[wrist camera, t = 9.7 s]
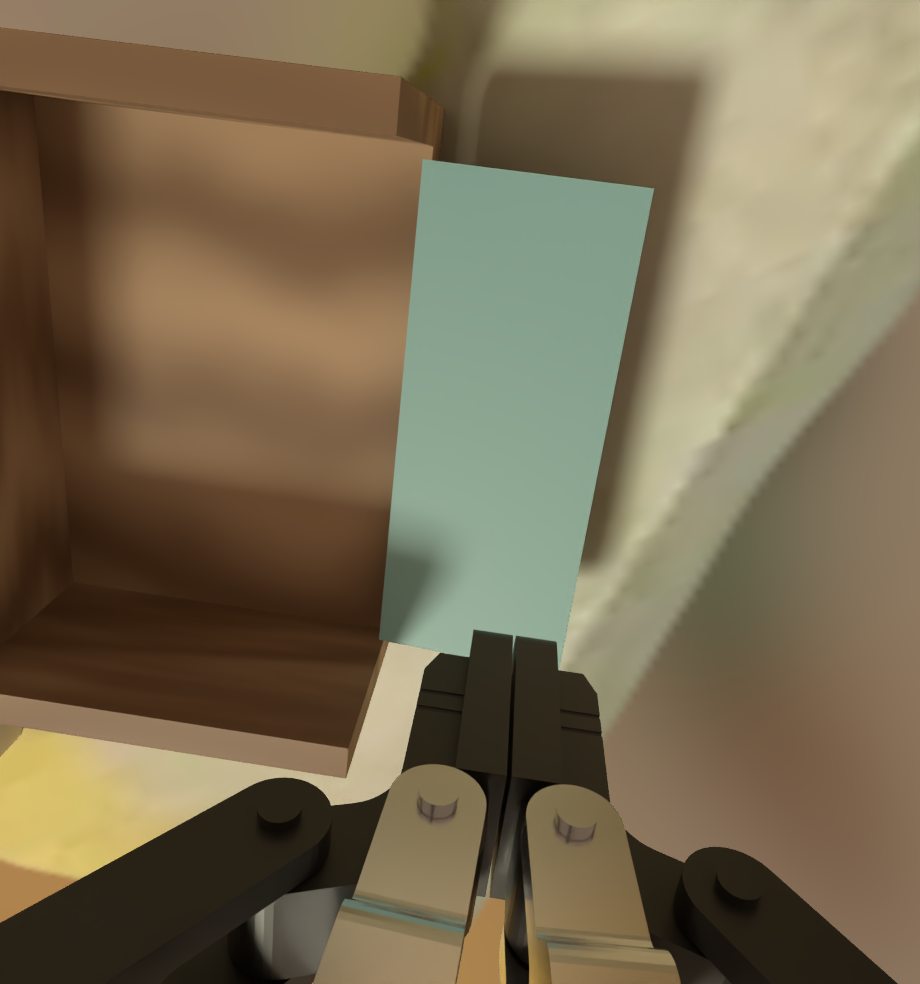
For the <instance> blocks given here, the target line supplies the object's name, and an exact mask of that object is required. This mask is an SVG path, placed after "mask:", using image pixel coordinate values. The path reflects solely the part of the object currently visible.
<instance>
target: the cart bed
mask: <svg viewBox="0 0 920 984" xmlns="http://www.w3.org/2000/svg"><path fill="white" fill-rule="evenodd" d="M443 119H444V108H442V107H441V106H440V105H438V104H437V103H436V102H434V101H433V100H432V99H430V98H429V97H428V96H426V95H425V94H424V93H422V92H421V91H420V90H418V89H417V88H416V87H414V86H413V85H412V84H410V83H409V82H408V81H406V80H405V79H404V78H402V77H400V76H392V75H384V74H376V73H367V72H360V71H351V70H343V69H335V68H327V67H319V66H311V65H303V64H294V63H286V62H278V61H270V60H261V59H253V58H245V57H237V56H229V55H221V54H213V53H205V52H197V51H188V50H180V49H172V48H164V47H156V46H148V45H139V44H132V43H123V42H115V41H107V40H99V39H90V38H83V37H74V36H65V35H58V34H50V33H42V32H34V31H26V30H17V29H9V28H1V27H0V724H4V725H10V726H17V727H23V728H29V729H36V730H42V731H48V732H55V733H61V734H67V735H74V736H80V737H86V738H93V739H99V740H105V741H112V742H118V743H124V744H131V745H137V746H143V747H150V748H156V749H162V750H169V751H175V752H181V753H188V754H194V755H200V756H207V757H213V758H220V759H226V760H232V761H239V762H245V763H251V764H258V765H264V766H270V767H277V768H283V769H289V770H296V771H302V772H308V773H315V774H321V775H327V776H334V777H340V778H346V777H347V773H348V770H349V767H350V764H351V761H352V758H353V754H354V751H355V748H356V745H357V742H358V739H359V735H360V732H361V729H362V726H363V723H364V719H365V716H366V713H367V710H368V707H369V704H370V700H371V697H372V694H373V691H374V688H375V685H376V681H377V678H378V675H379V672H380V669H381V665H382V662H383V659H384V656H385V653H386V650H387V646H388V643H389V642H388V641H383V640H379V633H380V622H381V612H382V601H383V590H384V579H385V568H386V557H387V546H388V535H389V524H390V513H391V502H392V491H393V480H394V469H395V458H396V447H397V436H398V425H399V414H400V403H401V392H402V381H403V370H404V359H405V348H406V337H407V326H408V315H409V304H410V293H411V282H412V271H413V260H414V249H415V238H416V227H417V216H418V205H419V194H420V183H421V172H422V162H423V159H426V160H433V161H439V159H440V149H441V139H442V129H443Z"/></svg>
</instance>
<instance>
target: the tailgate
mask: <svg viewBox="0 0 920 984" xmlns="http://www.w3.org/2000/svg"><path fill="white" fill-rule="evenodd" d="M653 192H654V188H647V187H639V186H631V185H623V184H616V183H608V182H600V181H592V180H584V179H576V178H568V177H560V176H552V175H544V174H536V173H528V172H521V171H513V170H505V169H497V168H489V167H481V166H473V165H465V164H457V163H449V162H441V161H433V160H426V159H423V162H422V172H421V183H420V194H419V205H418V216H417V227H416V238H415V249H414V260H413V271H412V282H411V293H410V304H409V315H408V326H407V337H406V348H405V359H404V370H403V381H402V392H401V403H400V414H399V425H398V436H397V447H396V458H395V469H394V480H393V491H392V502H391V513H390V524H389V535H388V546H387V557H386V568H385V579H384V590H383V601H382V612H381V622H380V633H379V640H383V641H388V642H393V643H398V644H403V645H408V646H413V647H418V648H423V649H428V650H433V651H438V652H442V653H447V654H452V655H458V656H465V657H469V656H470V649H471V642H472V636H473V629H475V630H481V631H488V632H495V633H502V634H508V635H513V648H514V642H515V638H516V636H523V637H530V638H536V639H543V640H550V641H556V642H557V654H558V670H559V667H560V662H561V657H562V652H563V647H564V642H565V637H566V632H567V627H568V622H569V617H570V612H571V607H572V602H573V597H574V592H575V586H576V581H577V576H578V571H579V566H580V561H581V556H582V551H583V546H584V541H585V536H586V531H587V526H588V521H589V516H590V511H591V506H592V501H593V496H594V490H595V485H596V480H597V475H598V470H599V465H600V460H601V455H602V450H603V445H604V440H605V435H606V430H607V425H608V420H609V415H610V410H611V405H612V399H613V394H614V389H615V384H616V379H617V374H618V369H619V364H620V359H621V354H622V349H623V344H624V339H625V334H626V329H627V324H628V319H629V314H630V309H631V303H632V298H633V293H634V288H635V283H636V278H637V273H638V268H639V263H640V258H641V253H642V248H643V243H644V238H645V233H646V228H647V223H648V218H649V212H650V207H651V202H652V197H653ZM512 653H513V652H512Z"/></svg>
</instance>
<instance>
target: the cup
mask: <svg viewBox="0 0 920 984" xmlns="http://www.w3.org/2000/svg"><path fill="white" fill-rule="evenodd" d="M22 728H23V727H17V726H10V725H4V724H0V757H1V755H2V754H3V753H4V752H5V751H6V750H7V749H8V748H9V747H10V746H11V745H12V744H13V742H14V741H15V740H16V739H17V738H18V737H19V736H20V735H21V733H22Z"/></svg>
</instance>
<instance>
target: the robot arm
mask: <svg viewBox="0 0 920 984" xmlns="http://www.w3.org/2000/svg"><path fill="white" fill-rule="evenodd" d="M512 652H513V653H512ZM599 716H600V715H599V706H598V698H597V693H596V692H595V691H594V689H593V688H592V686H591V685H590V683H589V682H588V681H587V679H586V678H585V676H584V675H583V674H579V673H573V672H566V671H559V670H558V654H557V642H556V641H550V640H543V639H536V638H530V637H523V636H516V638H515V642H514V648H513V635H508V634H502V633H495V632H488V631H481V630H475V629H473V636H472V642H471V649H470V656H469V657H465V656H458V655H451V654H445V653H440V654H439V655H438V656H437V657H436V658H435V659H434V660H433V661H432V662H431V663H430V664H429V665H428V666H427V667H426V668H425V670H424V674H423V679H422V683H421V688H420V692H419V697H418V701H417V707H416V710H415V715H414V719H413V724H412V728H411V733H410V737H409V742H408V747H407V751H406V756H405V760H404V765H403V769H402V772H401V775H399V776H398V777H397V778H396V779H395V781H394V782H393V783H392V786H391V788H390V789H388V790H387V791H386V792H384V793H383V794H381V795H379V796H377V797H375V798H373V799H370V800H367V801H363V802H358V803H352V804H343V805H334V806H331V805H330V802H329V800H328V798H327V797H326V795H325V794H324V793H323V792H322V791H321V790H320V789H318V788H317V787H316V786H314V785H312V784H310V783H308V782H306V781H303V780H299V779H294V778H274V779H268V780H264V781H261V782H258V783H256V784H254V785H252V786H249V787H248V788H246V789H244V790H242V791H240V792H239V793H237V794H235V795H233V796H231V797H229V798H228V799H226V800H224V801H222V802H220V803H218V804H217V805H215V806H213V807H211V808H209V809H207V810H206V811H204V812H202V813H200V814H198V815H197V816H195V817H193V818H191V819H189V820H187V821H186V822H184V823H182V824H180V825H178V826H176V827H175V828H173V829H171V830H169V831H167V832H165V833H164V834H162V835H160V836H158V837H156V838H154V839H153V840H151V841H149V842H147V843H145V844H144V845H142V846H140V847H138V848H136V849H134V850H133V851H131V852H129V853H127V854H125V855H123V856H122V857H120V858H118V859H116V860H114V861H112V862H111V863H109V864H107V865H105V866H103V867H102V868H100V869H98V870H96V871H94V872H92V873H91V874H89V875H87V876H85V877H83V878H81V879H80V880H78V881H76V882H74V883H72V884H70V885H69V886H67V887H65V888H63V889H61V890H59V891H58V892H56V893H54V894H52V895H50V896H49V897H47V898H45V899H43V900H41V901H39V902H38V903H36V904H34V905H32V906H31V907H28V908H27V909H25V910H23V911H21V912H19V913H17V914H16V915H14V916H12V917H10V918H8V919H7V920H5V921H3V922H1V923H0V984H312V983H313V984H456V983H457V978H458V972H459V966H460V961H461V955H462V949H463V943H464V938H465V936H466V935H467V933H468V932H469V929H470V927H471V923H472V917H473V912H474V906H475V900H476V896H482V897H485V895H486V889H487V884H488V878H489V873H490V867H491V861H492V867H491V883H490V898H497V899H503V900H505V921H504V927H503V932H502V937H501V942H500V949H499V959H500V984H897V983H896V982H895V981H894V980H893V979H892V978H891V977H889V976H888V975H887V974H886V973H885V972H884V971H883V970H882V969H881V968H879V967H878V966H877V965H876V964H875V963H874V962H873V961H872V960H870V959H869V958H868V957H867V956H866V955H865V954H864V953H863V952H861V951H860V950H859V949H858V948H857V947H856V946H855V945H854V944H852V943H851V942H850V941H849V940H848V939H847V938H846V937H845V936H844V935H842V934H841V933H840V932H839V931H838V930H837V929H836V928H835V927H833V926H832V925H831V924H830V923H829V922H828V921H827V920H826V919H824V918H823V917H822V916H821V915H820V914H819V913H818V912H817V911H815V910H814V909H813V908H812V907H811V906H810V905H809V904H807V903H806V902H805V901H804V900H803V899H802V898H801V897H800V896H798V895H797V894H796V893H795V892H794V891H793V890H792V889H791V888H790V887H788V886H787V885H786V884H785V883H784V882H783V881H782V880H781V879H779V878H778V877H777V876H776V875H775V874H774V873H773V872H772V871H770V870H769V869H768V868H767V867H766V866H764V865H763V864H762V863H760V862H759V861H757V860H755V859H754V858H752V857H750V856H748V855H746V854H744V853H742V852H739V851H736V850H732V849H729V848H722V847H708V848H703V849H700V850H698V851H695V852H694V853H693V854H691V855H690V856H689V857H688V859H687V860H686V862H685V863H683V862H681V861H678V860H677V859H674V858H672V857H670V856H667V855H665V854H663V853H660V852H658V851H656V850H654V849H652V848H650V847H647V846H646V845H644V844H643V843H641V842H639V841H638V840H637V839H635V838H634V837H633V836H632V835H630V834H629V833H628V832H627V831H626V830H625V827H624V824H623V821H622V818H621V817H620V815H619V813H618V812H617V810H616V809H615V808H614V806H613V805H612V804H611V803H610V798H609V790H608V782H607V773H606V765H605V757H604V748H603V740H602V737H601V733H602V731H601V723H600V719H599Z"/></svg>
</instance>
